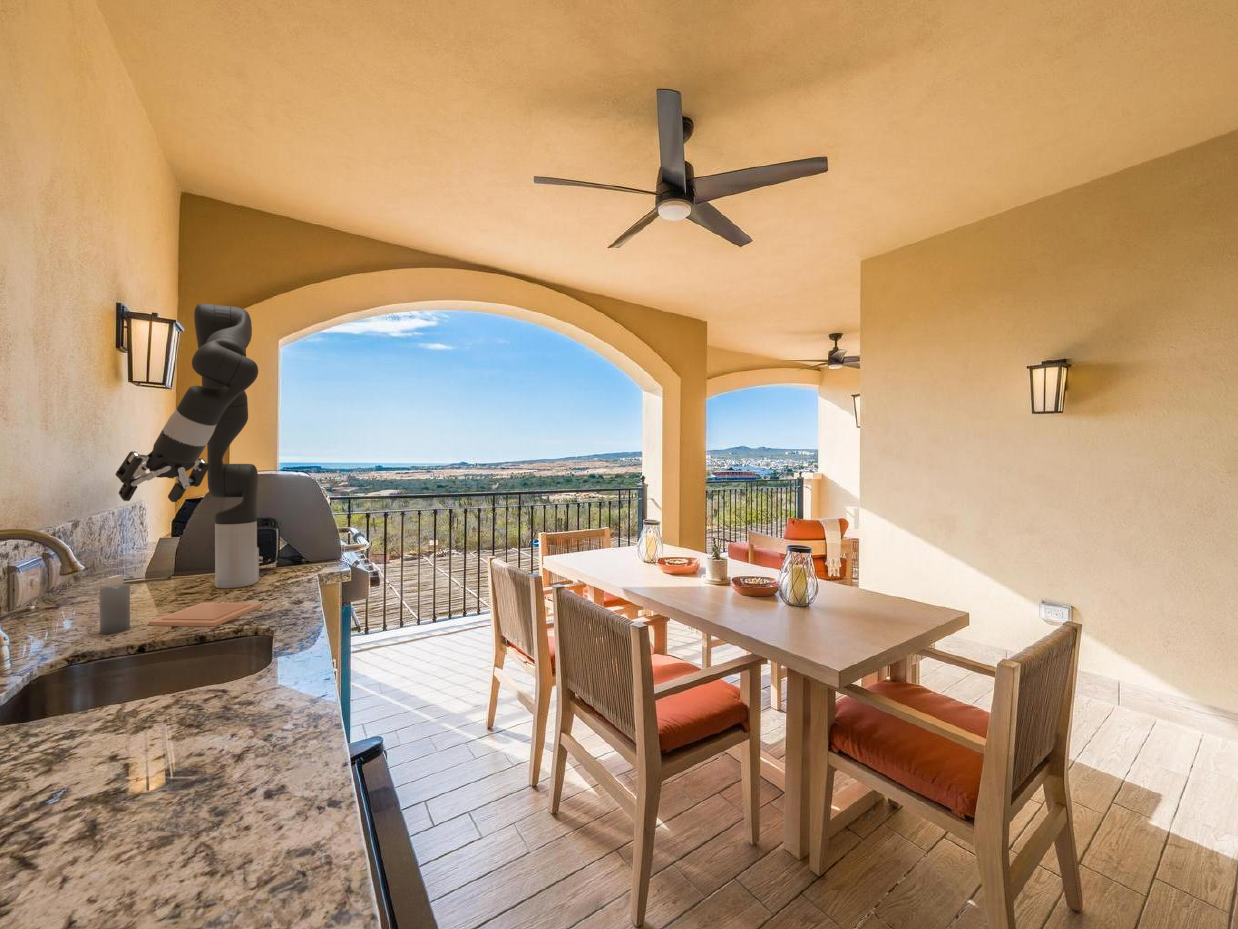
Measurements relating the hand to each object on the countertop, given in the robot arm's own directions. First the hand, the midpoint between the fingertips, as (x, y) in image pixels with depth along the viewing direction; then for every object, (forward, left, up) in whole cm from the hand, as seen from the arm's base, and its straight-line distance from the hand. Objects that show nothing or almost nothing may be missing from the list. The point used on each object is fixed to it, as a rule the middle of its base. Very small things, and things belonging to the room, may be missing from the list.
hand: (148, 499), depth 108 cm
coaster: (-7, +7, -26) cm, 28 cm away
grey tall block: (+3, -4, -26) cm, 27 cm away
